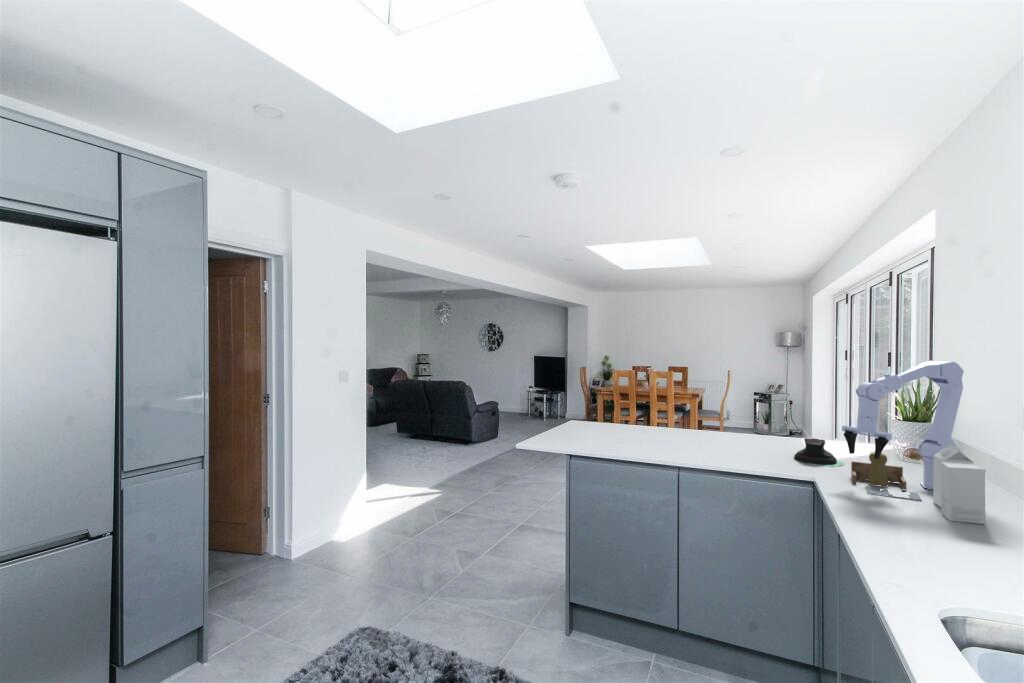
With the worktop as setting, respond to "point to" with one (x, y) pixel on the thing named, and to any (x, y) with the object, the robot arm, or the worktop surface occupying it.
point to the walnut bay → (863, 469)
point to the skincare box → (963, 492)
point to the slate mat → (885, 492)
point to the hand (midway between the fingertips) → (864, 455)
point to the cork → (878, 470)
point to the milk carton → (950, 456)
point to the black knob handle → (816, 454)
